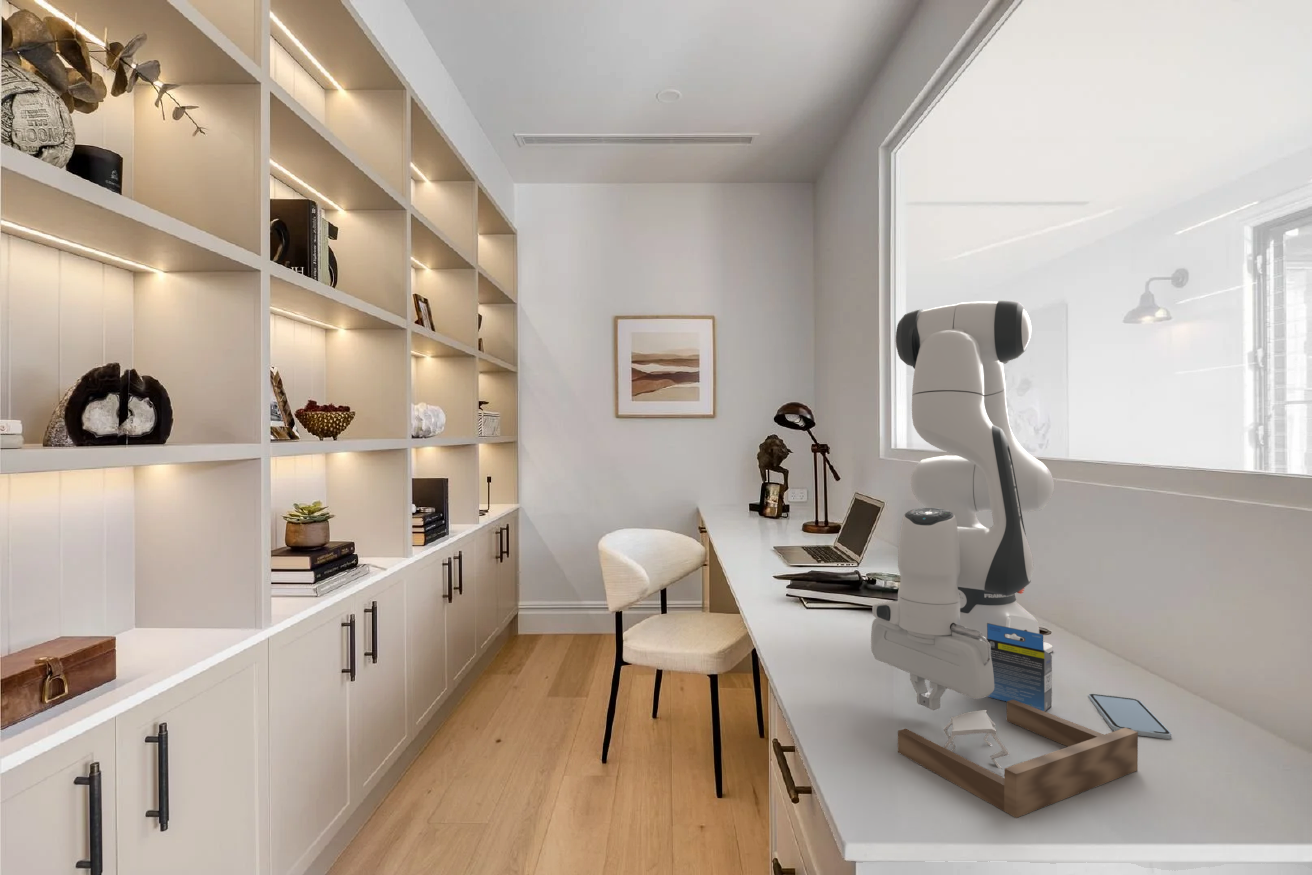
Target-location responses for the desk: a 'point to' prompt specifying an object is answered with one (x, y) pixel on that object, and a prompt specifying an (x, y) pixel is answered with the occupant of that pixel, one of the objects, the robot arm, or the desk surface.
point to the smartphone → (1129, 715)
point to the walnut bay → (1034, 762)
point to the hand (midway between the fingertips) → (928, 706)
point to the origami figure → (974, 729)
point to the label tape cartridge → (1020, 667)
